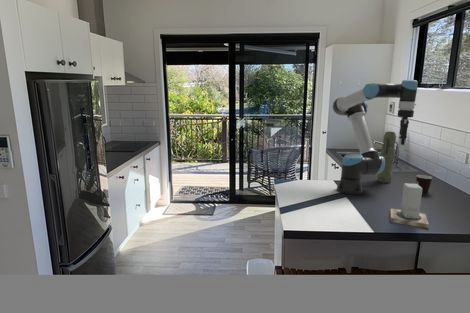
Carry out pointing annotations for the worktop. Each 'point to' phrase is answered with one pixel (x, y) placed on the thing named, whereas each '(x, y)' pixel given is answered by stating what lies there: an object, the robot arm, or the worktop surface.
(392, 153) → the olive green tapered column
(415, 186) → the skincare box
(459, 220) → the worktop surface
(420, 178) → the coffee mug
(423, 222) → the birch board
